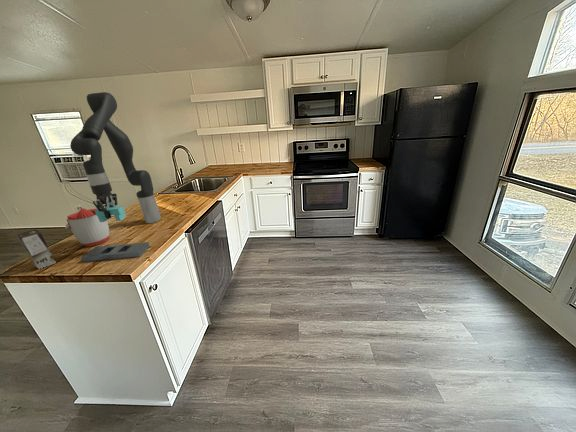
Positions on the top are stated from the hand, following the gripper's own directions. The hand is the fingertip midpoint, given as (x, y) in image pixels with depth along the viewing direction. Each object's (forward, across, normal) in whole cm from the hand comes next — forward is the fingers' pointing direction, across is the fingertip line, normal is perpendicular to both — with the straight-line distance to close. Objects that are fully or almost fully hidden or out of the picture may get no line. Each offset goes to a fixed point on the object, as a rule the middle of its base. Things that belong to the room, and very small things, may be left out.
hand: (111, 216), depth 115 cm
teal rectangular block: (+2, 0, 0) cm, 2 cm away
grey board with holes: (+17, +8, +3) cm, 19 cm away
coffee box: (+17, +12, -29) cm, 36 cm away
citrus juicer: (+17, -7, -20) cm, 27 cm away
